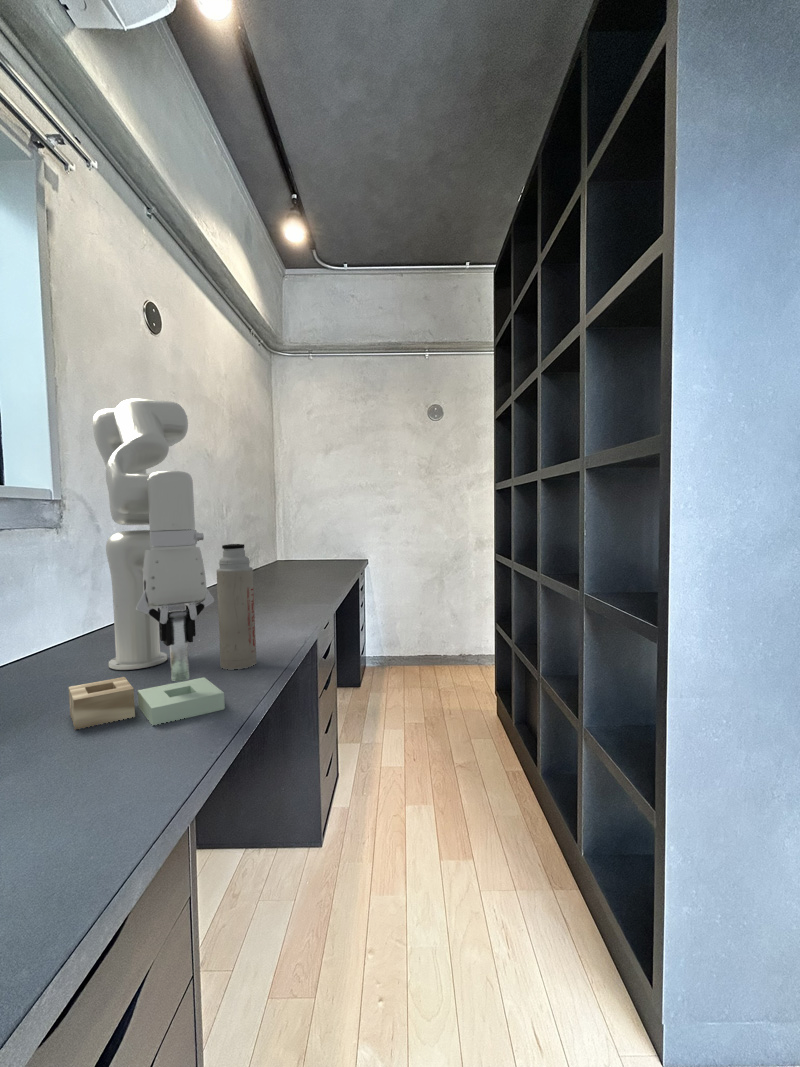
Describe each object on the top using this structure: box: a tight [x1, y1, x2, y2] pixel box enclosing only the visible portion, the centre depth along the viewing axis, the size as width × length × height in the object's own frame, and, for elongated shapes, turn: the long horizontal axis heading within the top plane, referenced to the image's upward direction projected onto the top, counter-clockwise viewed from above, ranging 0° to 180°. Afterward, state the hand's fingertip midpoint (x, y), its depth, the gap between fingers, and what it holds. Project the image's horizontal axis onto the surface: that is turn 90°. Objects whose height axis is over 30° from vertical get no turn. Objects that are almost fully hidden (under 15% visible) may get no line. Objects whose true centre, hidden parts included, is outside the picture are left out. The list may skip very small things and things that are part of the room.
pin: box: [167, 609, 190, 682], centre depth 99 cm, size 4×4×12 cm
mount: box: [68, 676, 136, 731], centre depth 96 cm, size 9×9×5 cm
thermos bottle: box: [216, 543, 257, 671], centre depth 126 cm, size 8×8×28 cm
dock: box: [137, 676, 226, 727], centre depth 99 cm, size 12×12×3 cm
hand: (178, 641), depth 99 cm, fingers closed on pin, 3 cm apart
